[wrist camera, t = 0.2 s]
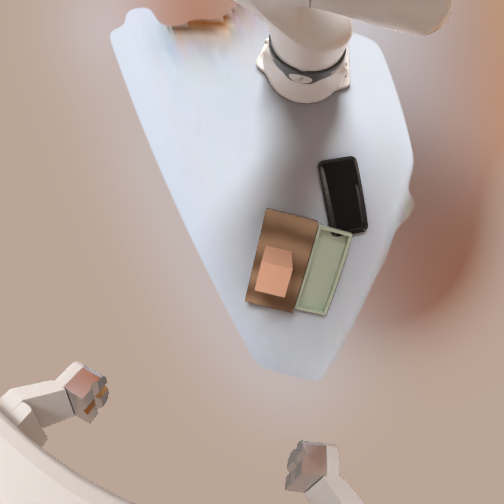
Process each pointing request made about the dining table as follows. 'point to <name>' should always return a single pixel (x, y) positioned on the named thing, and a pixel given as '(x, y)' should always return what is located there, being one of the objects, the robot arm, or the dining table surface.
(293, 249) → the platform
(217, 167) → the dining table surface
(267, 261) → the terracotta block
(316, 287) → the box
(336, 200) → the phone
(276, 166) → the dining table surface
